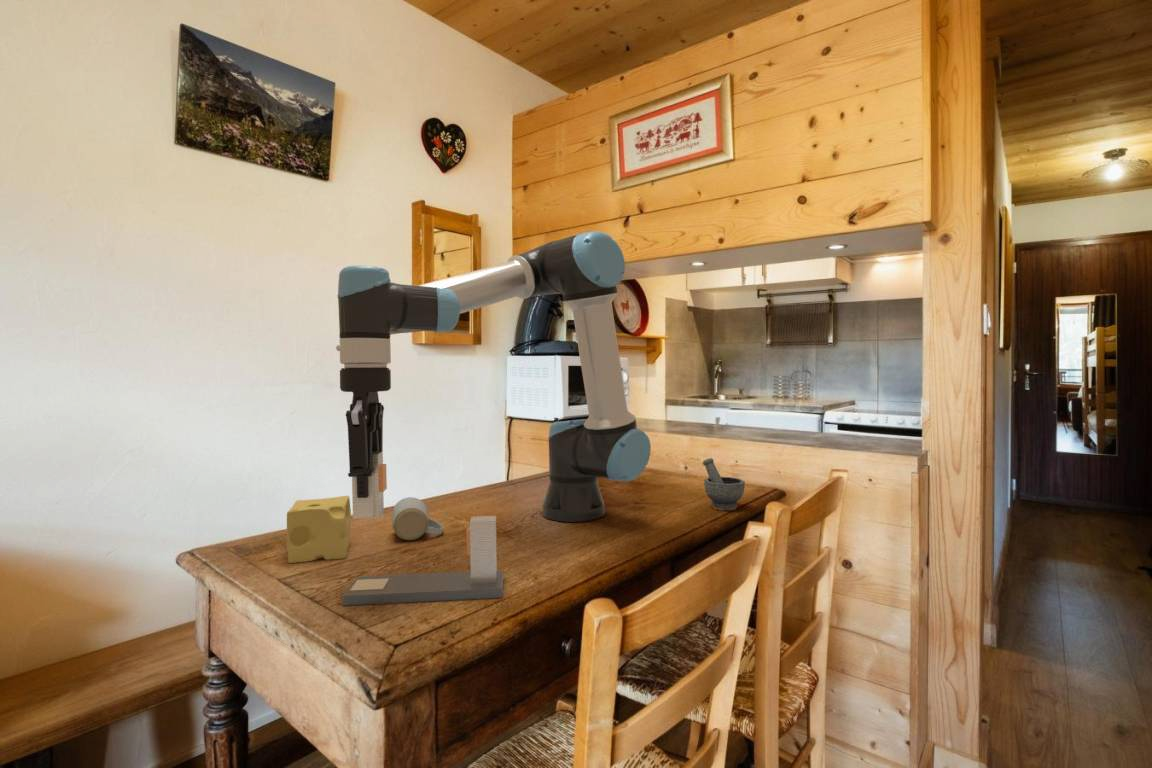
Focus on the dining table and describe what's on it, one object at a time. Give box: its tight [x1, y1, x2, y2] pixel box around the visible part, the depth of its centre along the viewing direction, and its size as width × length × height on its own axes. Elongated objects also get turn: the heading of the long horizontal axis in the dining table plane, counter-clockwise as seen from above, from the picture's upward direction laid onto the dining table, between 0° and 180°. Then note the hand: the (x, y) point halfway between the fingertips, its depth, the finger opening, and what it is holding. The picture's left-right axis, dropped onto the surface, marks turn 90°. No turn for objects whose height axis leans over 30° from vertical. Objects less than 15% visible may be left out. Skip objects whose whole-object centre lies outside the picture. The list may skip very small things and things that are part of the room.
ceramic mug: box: [391, 496, 445, 541], centre depth 122 cm, size 11×8×8 cm
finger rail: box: [342, 515, 504, 607], centre depth 91 cm, size 24×8×12 cm, turn 96°
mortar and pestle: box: [702, 458, 746, 511], centre depth 144 cm, size 11×9×12 cm
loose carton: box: [351, 450, 388, 520], centre depth 90 cm, size 5×3×10 cm, turn 96°
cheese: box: [286, 495, 352, 564], centre depth 111 cm, size 10×11×10 cm
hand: (367, 514), depth 90 cm, fingers closed on loose carton, 3 cm apart
